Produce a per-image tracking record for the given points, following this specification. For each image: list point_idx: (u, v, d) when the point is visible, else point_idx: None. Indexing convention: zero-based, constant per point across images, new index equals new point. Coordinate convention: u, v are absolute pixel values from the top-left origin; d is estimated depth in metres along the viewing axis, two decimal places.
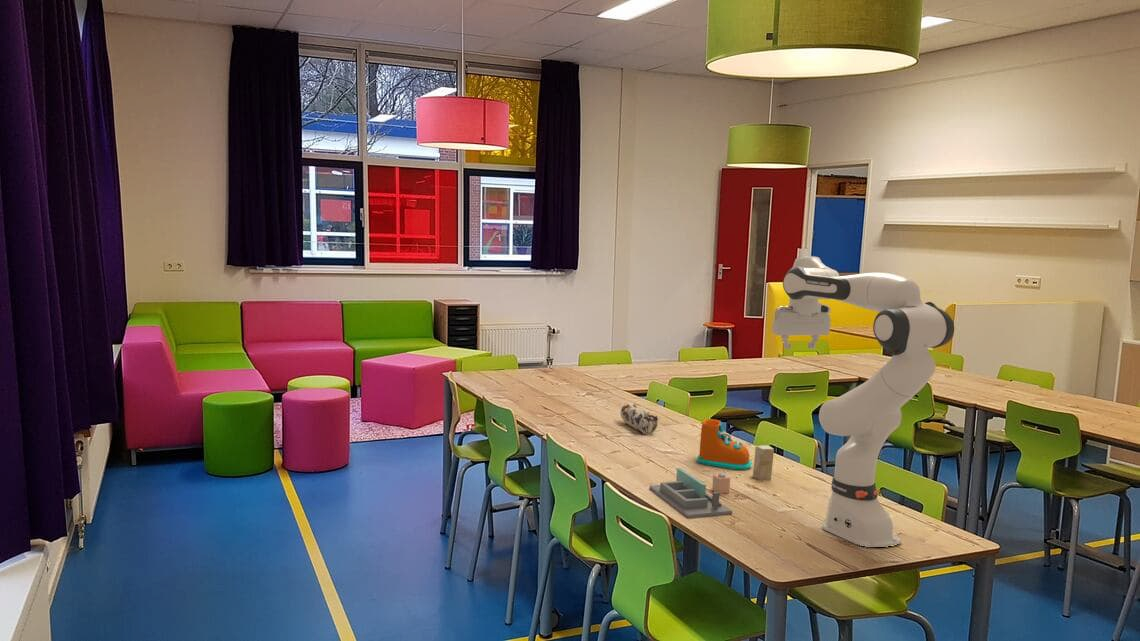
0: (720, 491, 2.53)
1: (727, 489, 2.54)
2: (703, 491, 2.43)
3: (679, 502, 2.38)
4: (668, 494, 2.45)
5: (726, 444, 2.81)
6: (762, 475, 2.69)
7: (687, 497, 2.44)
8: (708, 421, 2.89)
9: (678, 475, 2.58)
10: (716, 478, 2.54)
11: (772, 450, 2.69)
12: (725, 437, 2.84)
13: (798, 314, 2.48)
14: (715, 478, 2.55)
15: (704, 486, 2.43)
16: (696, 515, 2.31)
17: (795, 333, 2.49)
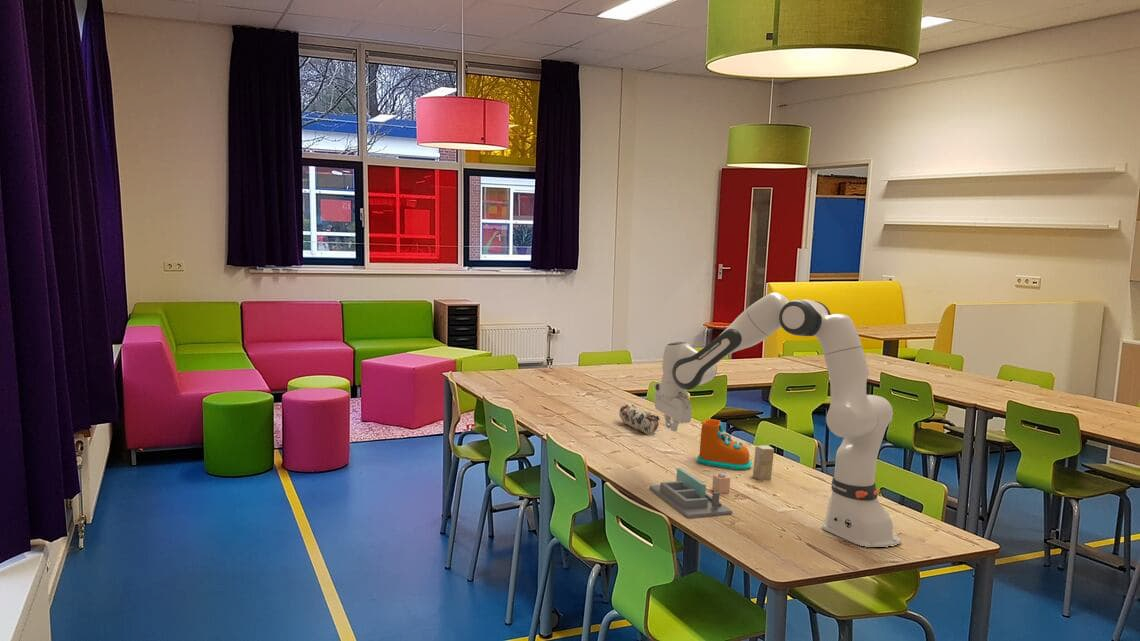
0: (720, 491, 2.53)
1: (727, 489, 2.54)
2: (703, 491, 2.43)
3: (679, 502, 2.38)
4: (668, 494, 2.45)
5: (726, 444, 2.81)
6: (762, 475, 2.69)
7: (687, 497, 2.44)
8: (708, 421, 2.89)
9: (678, 475, 2.58)
10: (716, 478, 2.55)
11: (772, 450, 2.69)
12: (725, 437, 2.84)
13: None
14: (715, 478, 2.55)
15: (704, 486, 2.43)
16: (696, 515, 2.31)
17: None
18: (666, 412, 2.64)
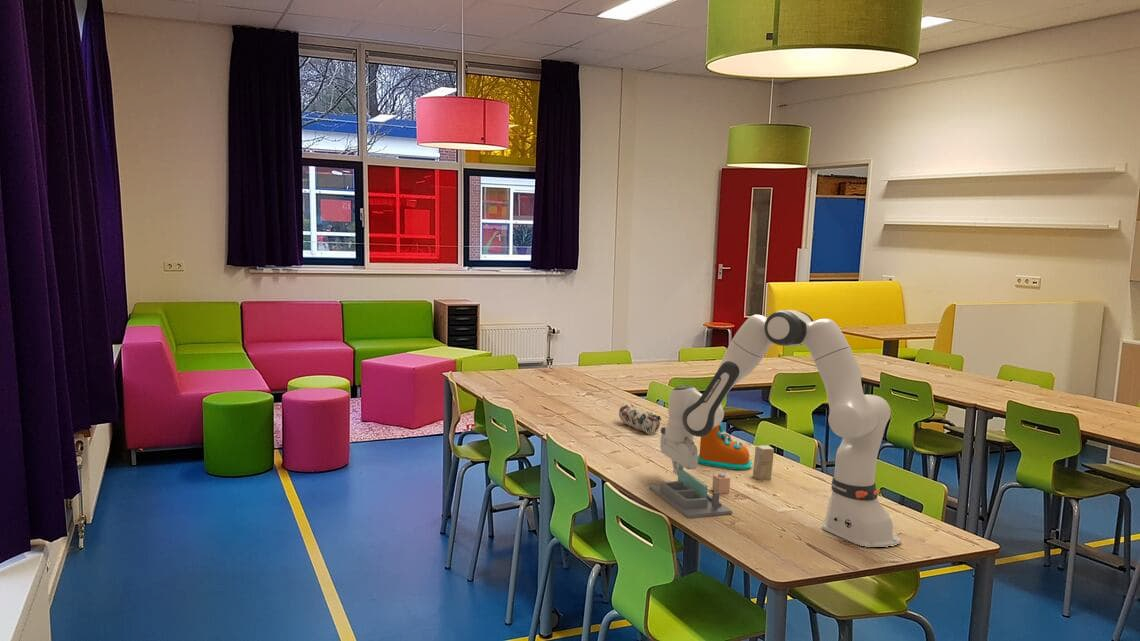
0: (720, 491, 2.53)
1: (727, 489, 2.54)
2: (705, 492, 2.43)
3: (679, 502, 2.38)
4: (668, 494, 2.45)
5: (726, 444, 2.81)
6: (762, 475, 2.69)
7: (687, 497, 2.44)
8: None
9: (680, 476, 2.57)
10: (716, 478, 2.55)
11: (772, 450, 2.69)
12: (725, 437, 2.84)
13: None
14: (715, 478, 2.55)
15: (706, 487, 2.42)
16: (696, 515, 2.31)
17: None
18: (672, 457, 2.60)
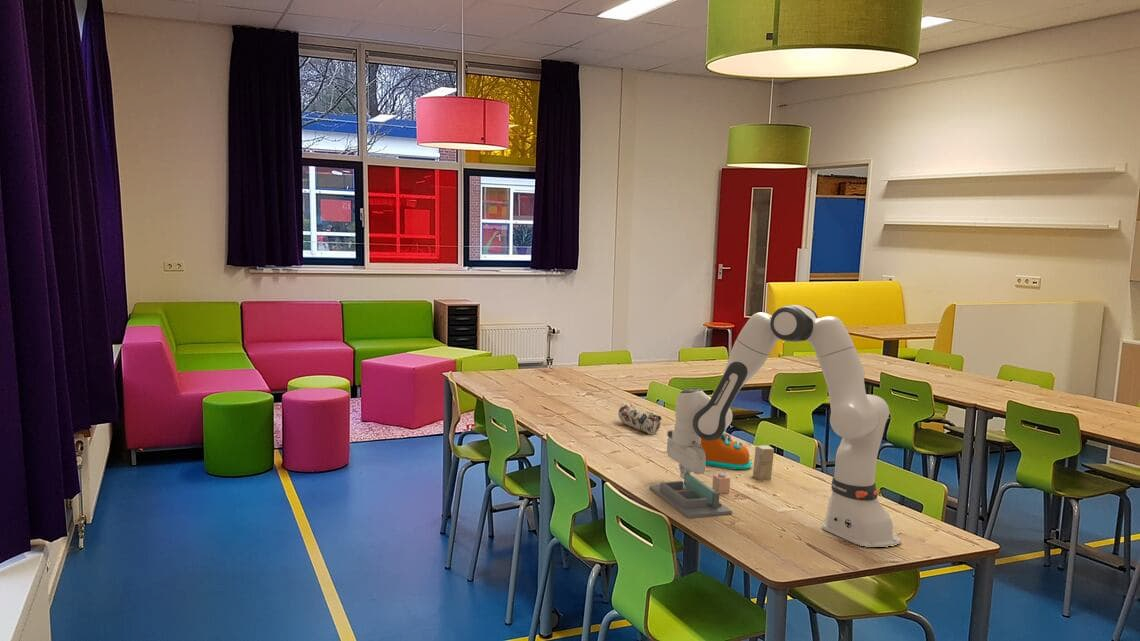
0: (720, 491, 2.53)
1: (727, 489, 2.54)
2: None
3: (679, 502, 2.38)
4: (668, 494, 2.45)
5: (726, 444, 2.81)
6: (762, 475, 2.69)
7: (687, 497, 2.44)
8: None
9: (687, 481, 2.52)
10: (716, 478, 2.54)
11: (772, 450, 2.69)
12: (725, 437, 2.84)
13: None
14: (715, 478, 2.55)
15: None
16: (696, 515, 2.31)
17: None
18: (679, 461, 2.55)
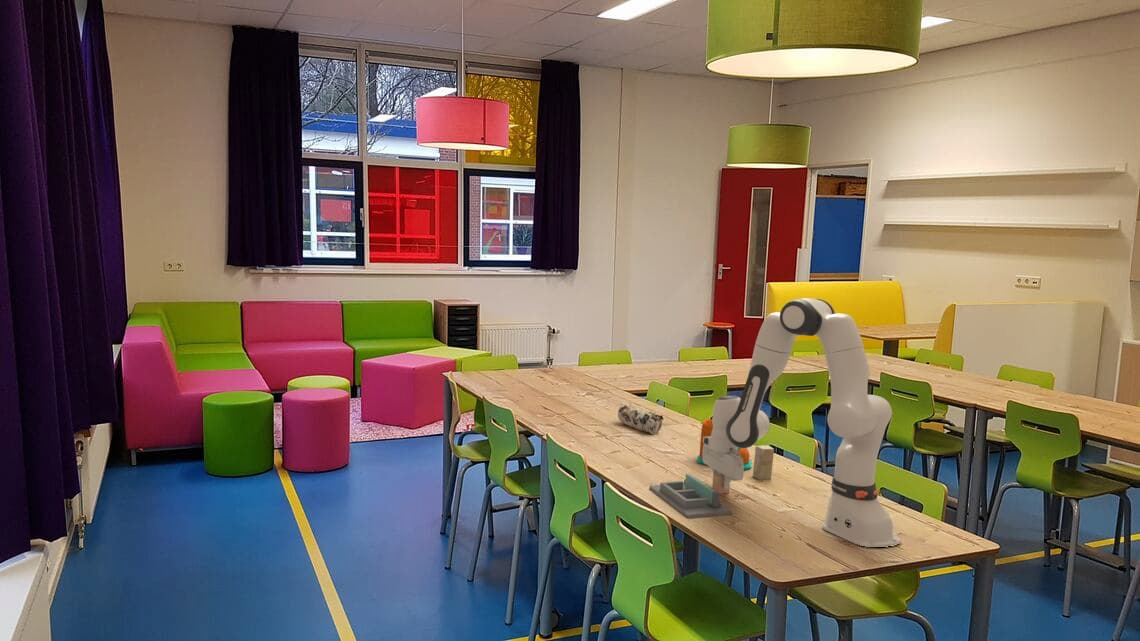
0: (720, 491, 2.53)
1: (727, 489, 2.54)
2: None
3: (679, 502, 2.38)
4: (668, 494, 2.45)
5: None
6: (762, 475, 2.69)
7: (687, 497, 2.44)
8: (708, 421, 2.89)
9: (687, 481, 2.52)
10: (716, 478, 2.54)
11: (772, 450, 2.69)
12: None
13: None
14: (715, 478, 2.55)
15: None
16: (696, 515, 2.31)
17: None
18: (716, 468, 2.55)
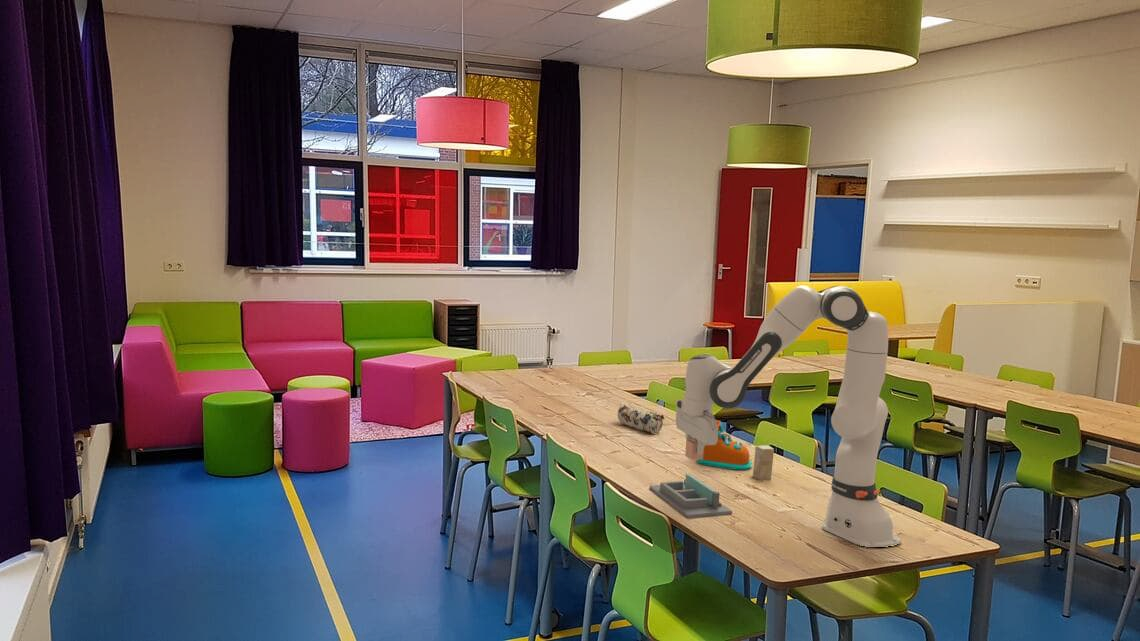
0: (693, 457, 2.37)
1: (701, 455, 2.38)
2: None
3: (679, 502, 2.38)
4: (668, 494, 2.45)
5: (726, 444, 2.81)
6: (762, 475, 2.69)
7: (687, 497, 2.44)
8: None
9: (687, 481, 2.52)
10: (689, 443, 2.38)
11: (772, 450, 2.69)
12: (725, 437, 2.84)
13: None
14: (688, 443, 2.38)
15: None
16: (696, 515, 2.31)
17: None
18: (689, 432, 2.38)
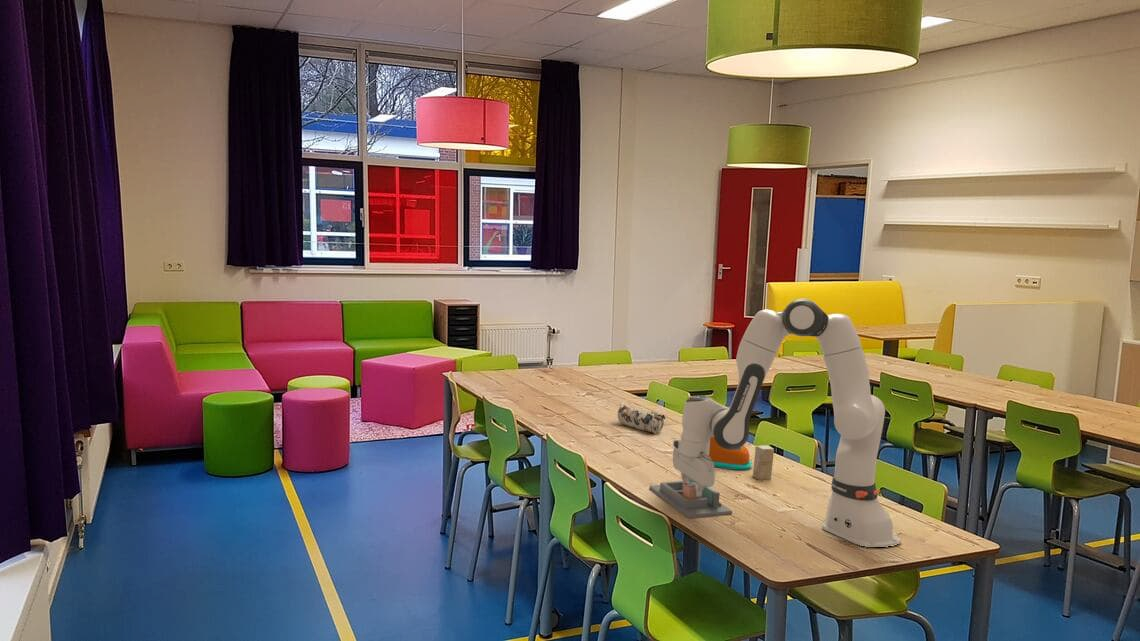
0: None
1: None
2: None
3: (679, 502, 2.38)
4: (668, 494, 2.45)
5: None
6: (762, 475, 2.69)
7: None
8: None
9: None
10: (686, 488, 2.39)
11: (772, 450, 2.69)
12: None
13: None
14: (685, 488, 2.40)
15: None
16: (696, 515, 2.31)
17: None
18: (686, 473, 2.40)
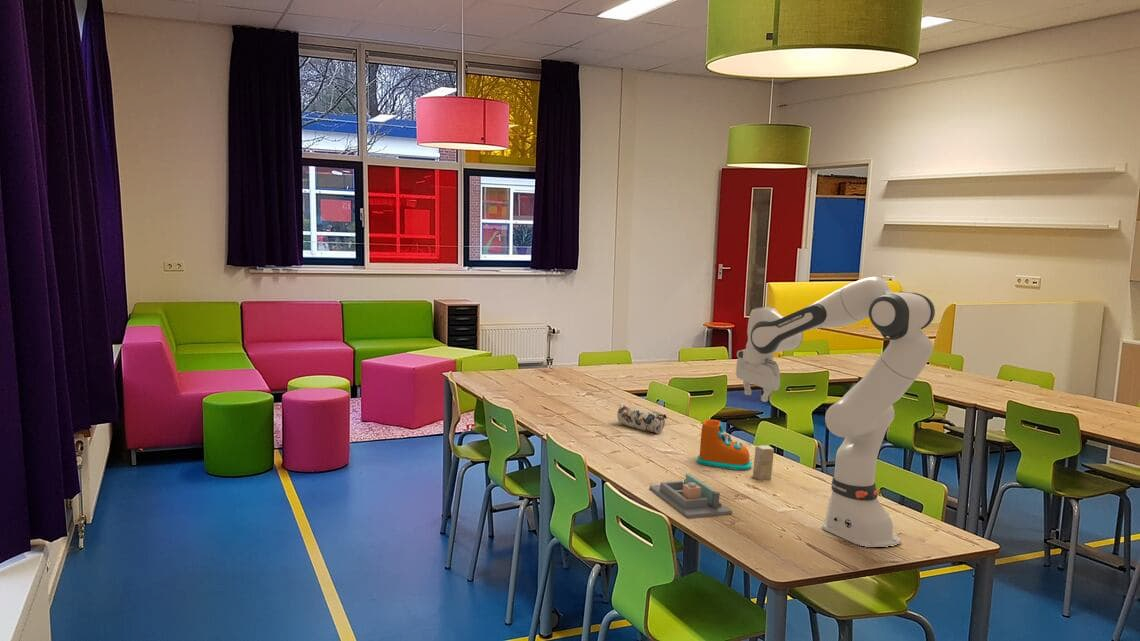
0: None
1: None
2: None
3: (679, 502, 2.38)
4: (668, 494, 2.45)
5: (727, 444, 2.81)
6: (762, 475, 2.69)
7: None
8: (708, 421, 2.88)
9: (687, 481, 2.52)
10: (686, 488, 2.39)
11: (772, 450, 2.69)
12: (725, 437, 2.83)
13: None
14: (685, 488, 2.40)
15: None
16: (696, 515, 2.31)
17: None
18: (751, 380, 2.54)
